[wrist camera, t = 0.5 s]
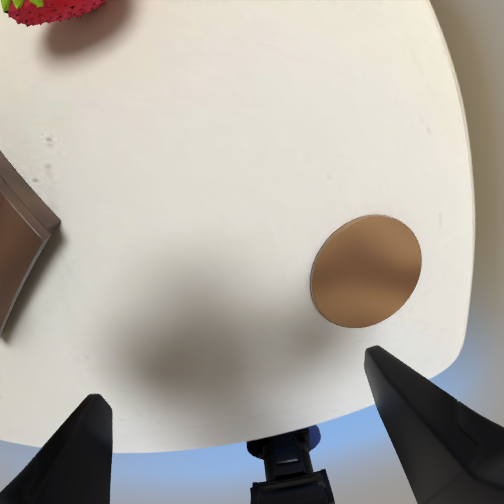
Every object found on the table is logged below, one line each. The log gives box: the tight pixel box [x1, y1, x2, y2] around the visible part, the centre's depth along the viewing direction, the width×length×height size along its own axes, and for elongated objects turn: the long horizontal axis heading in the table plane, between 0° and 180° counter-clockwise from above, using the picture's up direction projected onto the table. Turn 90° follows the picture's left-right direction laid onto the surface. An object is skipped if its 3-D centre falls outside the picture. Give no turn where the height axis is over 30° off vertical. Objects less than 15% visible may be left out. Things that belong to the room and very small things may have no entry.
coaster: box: [310, 215, 422, 328], centre depth 21 cm, size 9×9×1 cm
